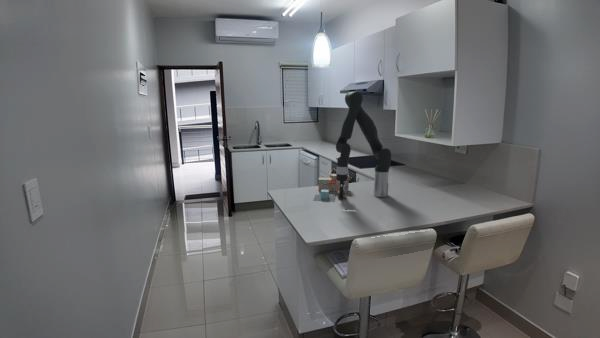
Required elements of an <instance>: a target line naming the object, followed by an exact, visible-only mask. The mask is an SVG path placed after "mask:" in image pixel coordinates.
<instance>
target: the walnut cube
mask: <svg viewBox="0 0 600 338" xmlns="http://www.w3.org/2000/svg"><path fill="white" fill-rule="evenodd" d="M339 196H340V193H339V191H337V199H340V198H339ZM346 196H347V191H343V199H344V200H346V199H347V197H346ZM343 199H342V200H343Z"/></svg>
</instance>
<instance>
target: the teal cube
mask: <svg viewBox="0 0 600 338" xmlns="http://www.w3.org/2000/svg"><path fill="white" fill-rule="evenodd" d="M320 195H321V199H329V195H330V191H329V190H321V191H320Z"/></svg>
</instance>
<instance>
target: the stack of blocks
mask: <svg viewBox="0 0 600 338" xmlns="http://www.w3.org/2000/svg"><path fill="white" fill-rule="evenodd" d="M339 182H340V181H338V180H336V173H331V175H330V177H318V189H317V190H318V191H319V192H321V190H329V192H338V191H339ZM344 182H345V186H344V190H343V191H346V192H349V185H350V175H349V174H348V180H347V181H344Z"/></svg>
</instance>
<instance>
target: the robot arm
mask: <svg viewBox="0 0 600 338" xmlns="http://www.w3.org/2000/svg"><path fill="white" fill-rule="evenodd" d="M344 96H345V97H344V102H345V104H346V105H347V107H348V112H347V115H346V117H345V119H344V121H343V122H342V126H341V130H340V135H339V137H338V139H337V141H336V144H335V149H336V152H338V153H339V155H340V156H338V158H337V160H336V162H337V163H336V173H335V174H336V180H338V181H340V182H339V193H340V196H339V198H340V199H341V200H343V190H344V186H345V182H344V181H347V180H348V175H349V159H350V155H351V151H352V148H351V145H350V144H349V143H348V140H351V138H352V135H353V131H354V125H355V123H357V124H358V127H359V129H360V131H361V132H362V134H363V136H364V138H365V140H366V141H367V143H368V144H369V147H370V149H371V151H372V152H371V153H372V154H373V157H374V158H375V159H376V160H377V164H376V166H375V167H374V177H373V178H374V183H373V196H374V197H378V198H387V197H388V196H389V176H390V175H389V174H390V173H389V172H390V168H391V163H392V162H391V161H392V152H391V150H390V149H389V148H387V147H384V146H383V145H382V143H381V141H380V139H379V133H378V129H377V126H376V124H375V122H374V120H373V119H372V118H371V117H370V116H369V114H368V113H367V112H366V111H365V110H364V109H363V107H362V103H363V100H364V97H363V94H362V93H361V92H359V91H350V92H348V93H346V94H345V95H344Z"/></svg>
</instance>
